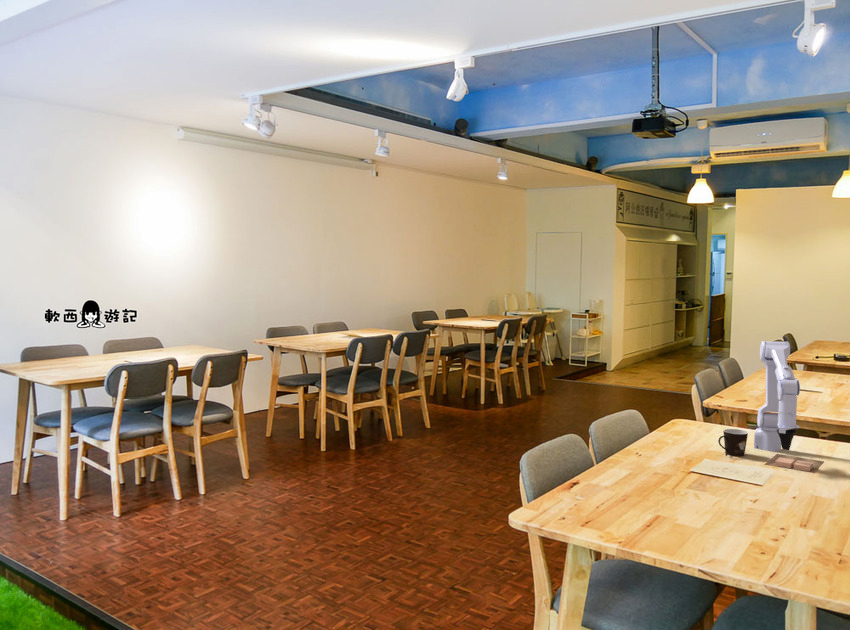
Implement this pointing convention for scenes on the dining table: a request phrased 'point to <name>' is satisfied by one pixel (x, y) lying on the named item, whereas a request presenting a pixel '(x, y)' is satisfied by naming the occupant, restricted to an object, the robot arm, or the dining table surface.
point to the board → (815, 462)
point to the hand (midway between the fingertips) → (785, 449)
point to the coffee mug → (734, 442)
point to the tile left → (784, 462)
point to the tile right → (803, 465)
